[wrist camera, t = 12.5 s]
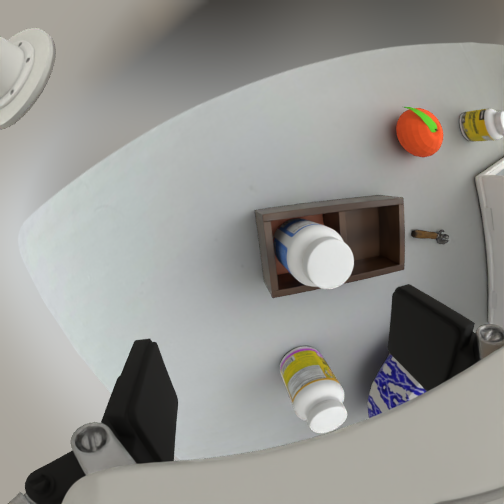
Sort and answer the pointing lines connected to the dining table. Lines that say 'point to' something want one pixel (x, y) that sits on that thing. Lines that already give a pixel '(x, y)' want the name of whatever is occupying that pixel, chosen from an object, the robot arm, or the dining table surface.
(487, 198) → the laptop
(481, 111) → the supplement bottle
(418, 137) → the clementine
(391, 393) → the ornament
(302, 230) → the pill bottle
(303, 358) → the supplement bottle
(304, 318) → the dining table surface
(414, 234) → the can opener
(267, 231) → the caddy
